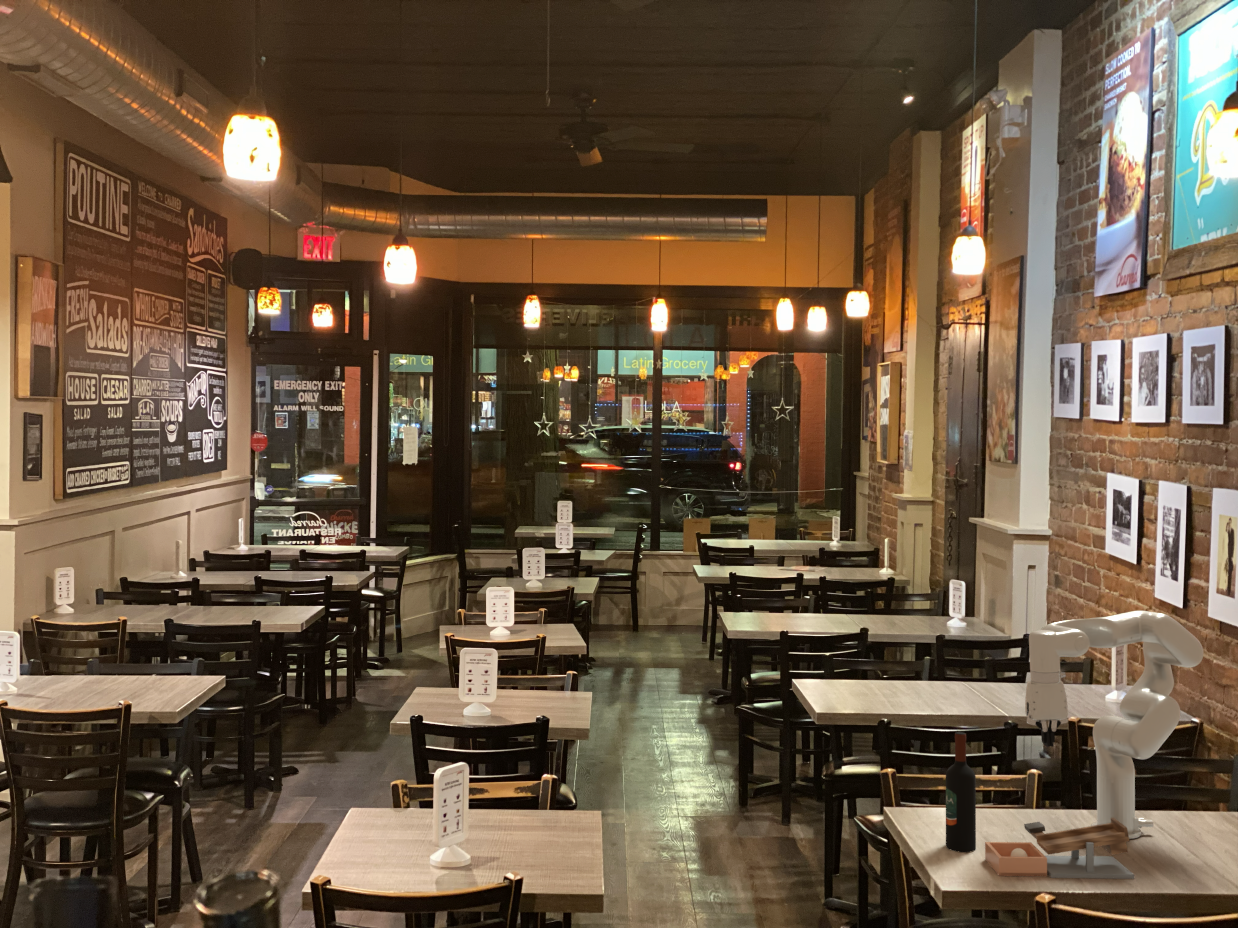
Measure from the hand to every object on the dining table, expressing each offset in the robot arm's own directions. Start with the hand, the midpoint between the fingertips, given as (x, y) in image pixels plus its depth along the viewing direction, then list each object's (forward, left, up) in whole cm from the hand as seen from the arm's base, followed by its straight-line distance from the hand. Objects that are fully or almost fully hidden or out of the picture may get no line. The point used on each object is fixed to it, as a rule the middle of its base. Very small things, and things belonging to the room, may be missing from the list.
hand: (1048, 745), depth 298 cm
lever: (-2, +16, -22) cm, 27 cm away
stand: (-1, +20, -26) cm, 33 cm away
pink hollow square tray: (+15, +20, -26) cm, 36 cm away
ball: (+14, +20, -23) cm, 34 cm away
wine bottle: (+25, +5, -26) cm, 36 cm away
